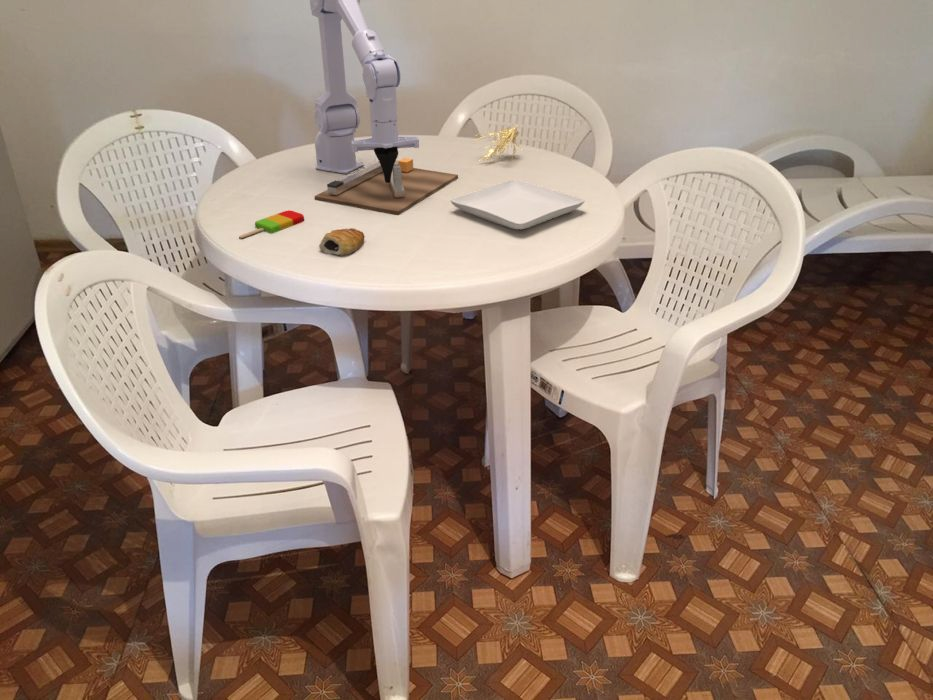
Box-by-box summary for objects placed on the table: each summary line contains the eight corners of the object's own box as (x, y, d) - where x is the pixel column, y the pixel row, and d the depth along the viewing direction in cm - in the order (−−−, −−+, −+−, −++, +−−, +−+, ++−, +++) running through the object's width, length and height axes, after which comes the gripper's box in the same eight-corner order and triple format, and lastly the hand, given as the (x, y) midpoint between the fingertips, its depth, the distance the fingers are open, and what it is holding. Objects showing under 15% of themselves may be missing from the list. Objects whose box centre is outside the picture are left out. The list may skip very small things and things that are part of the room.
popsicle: (307, 222, 152) (306, 214, 151) (249, 245, 142) (247, 236, 141) (290, 217, 155) (289, 208, 154) (232, 238, 145) (230, 229, 144)
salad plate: (513, 190, 169) (513, 176, 167) (586, 213, 156) (587, 198, 154) (447, 213, 156) (447, 198, 155) (520, 240, 143) (520, 224, 142)
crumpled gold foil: (470, 169, 191) (460, 139, 184) (509, 138, 195) (500, 108, 189) (500, 179, 183) (490, 149, 177) (539, 147, 188) (531, 116, 182)
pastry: (345, 236, 145) (344, 218, 143) (374, 242, 143) (372, 224, 141) (317, 252, 138) (315, 234, 136) (346, 259, 135) (344, 240, 133)
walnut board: (381, 166, 184) (381, 162, 184) (458, 178, 176) (458, 174, 175) (314, 199, 163) (314, 196, 163) (398, 215, 154) (398, 211, 154)
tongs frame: (385, 165, 181) (384, 156, 180) (402, 167, 179) (402, 159, 178) (328, 193, 163) (327, 184, 162) (347, 197, 161) (346, 187, 160)
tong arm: (385, 173, 176) (383, 148, 173) (394, 172, 176) (393, 148, 173) (394, 197, 161) (393, 171, 158) (404, 196, 161) (403, 170, 158)
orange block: (405, 167, 180) (404, 157, 178) (413, 168, 179) (412, 159, 177) (398, 170, 177) (398, 161, 176) (407, 172, 176) (406, 162, 175)
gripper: (351, 125, 150) (356, 189, 157) (420, 121, 153) (422, 184, 160) (348, 117, 156) (353, 179, 163) (415, 114, 158) (417, 174, 165)
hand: (387, 181), depth 162 cm, fingers closed
